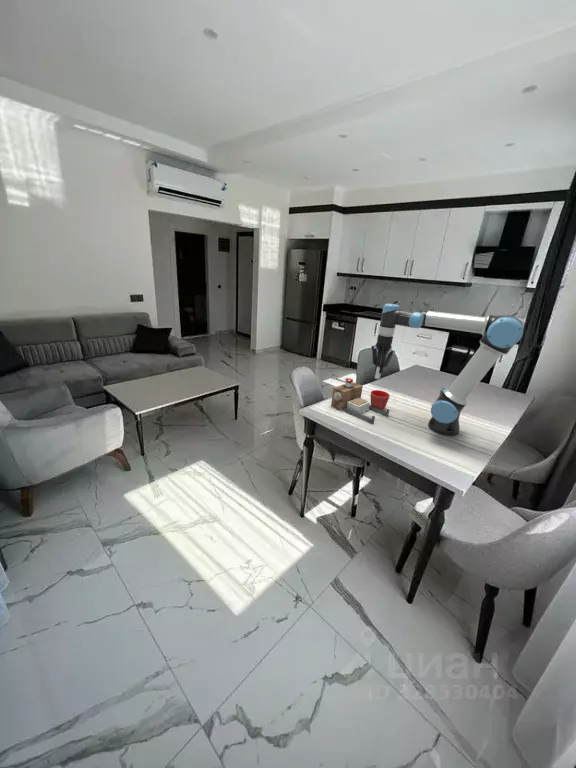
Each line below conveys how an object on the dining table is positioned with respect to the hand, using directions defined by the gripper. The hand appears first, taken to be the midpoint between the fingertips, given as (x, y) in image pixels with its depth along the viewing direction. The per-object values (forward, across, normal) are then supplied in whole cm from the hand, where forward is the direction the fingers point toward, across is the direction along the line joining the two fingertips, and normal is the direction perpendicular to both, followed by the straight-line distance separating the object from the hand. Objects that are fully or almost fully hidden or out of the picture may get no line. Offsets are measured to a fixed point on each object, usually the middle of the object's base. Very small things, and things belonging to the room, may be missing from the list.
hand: (377, 378), depth 168 cm
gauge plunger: (+14, +17, 0) cm, 23 cm away
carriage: (+23, +9, 0) cm, 24 cm away
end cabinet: (+23, +17, 0) cm, 29 cm away
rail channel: (+23, +3, 0) cm, 23 cm away
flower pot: (+23, +3, -13) cm, 27 cm away
